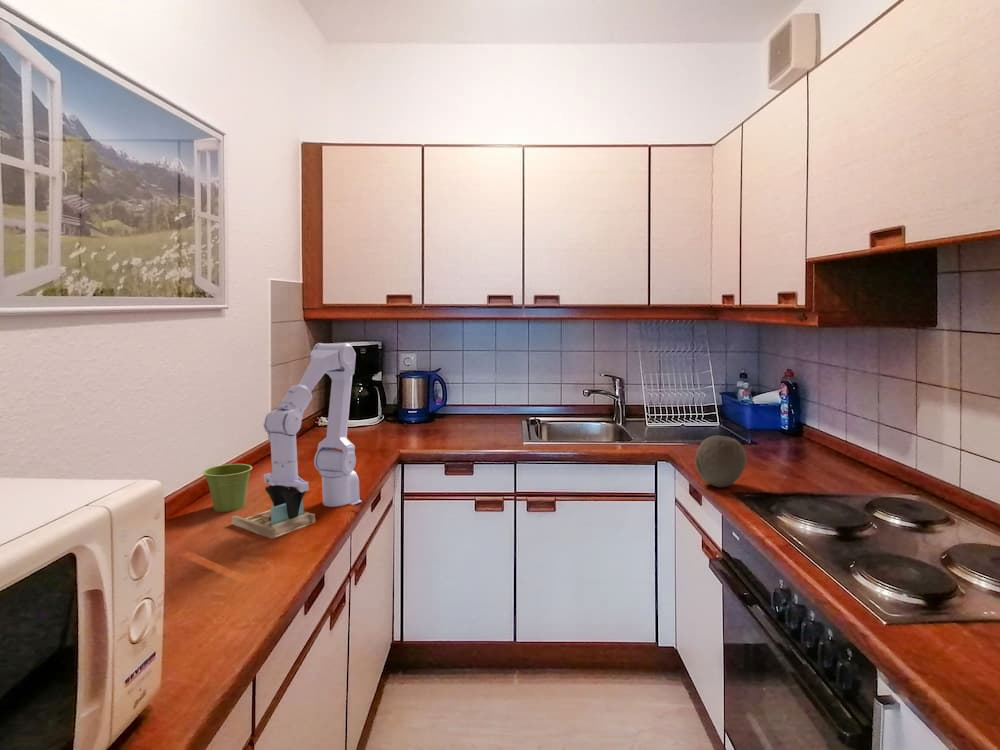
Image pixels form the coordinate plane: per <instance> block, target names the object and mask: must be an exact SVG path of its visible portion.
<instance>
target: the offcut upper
mask: <svg viewBox="0 0 1000 750" xmlns="http://www.w3.org/2000/svg"><path fill="white" fill-rule="evenodd" d="M262 521H264V522H270V521H271V512H270V513H267V514H264V515H262Z"/></svg>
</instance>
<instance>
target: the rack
mask: <svg viewBox="0 0 1000 750" xmlns="http://www.w3.org/2000/svg"><path fill="white" fill-rule="evenodd" d="M272 507H274V505H273V502H272V503H271V508H272ZM270 512H271V509H269V510H266V511H262V512H260V513H257V514H254V515H251V516H248V517H246V518H245V517H242V516H239V515H236V514H235V515H231V525H232V526H235V527H238V528H241V529H244V530H247V531H248V532H252V533H256V534H257V535H261V536H263V537H266V538H269V539H275V538H278V537H280V536H284V535H287V534H289V533H292V532H293V531H296V530H299V529H301V528H304V527H307V526H309V525H312V524H315V523H316V514H315V513H311V512H308V511H304V510H303V515H300V516H298V517H296V518H293V519H289V520H286V521H283V522H280V523H277V524H275V525H271V521H270V522H267V523H265V525H263V524H260V523H259V521H262V515H264V514H267V513H270Z"/></svg>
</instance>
